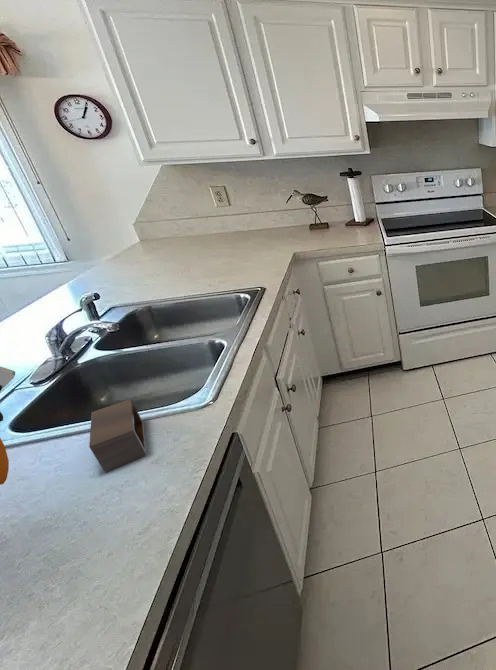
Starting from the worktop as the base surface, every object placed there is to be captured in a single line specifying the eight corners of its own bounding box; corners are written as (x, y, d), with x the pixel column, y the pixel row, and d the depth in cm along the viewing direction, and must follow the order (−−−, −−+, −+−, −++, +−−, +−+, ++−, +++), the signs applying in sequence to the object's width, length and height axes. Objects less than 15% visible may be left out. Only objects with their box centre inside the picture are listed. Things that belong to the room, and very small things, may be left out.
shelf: (146, 455, 86) (133, 430, 83) (105, 472, 82) (89, 446, 79) (143, 422, 94) (131, 398, 91) (105, 436, 91) (91, 412, 88)
